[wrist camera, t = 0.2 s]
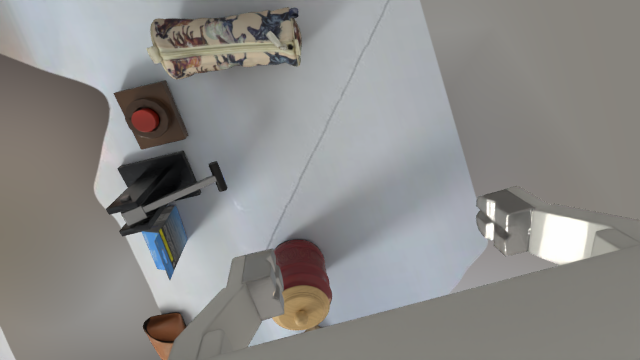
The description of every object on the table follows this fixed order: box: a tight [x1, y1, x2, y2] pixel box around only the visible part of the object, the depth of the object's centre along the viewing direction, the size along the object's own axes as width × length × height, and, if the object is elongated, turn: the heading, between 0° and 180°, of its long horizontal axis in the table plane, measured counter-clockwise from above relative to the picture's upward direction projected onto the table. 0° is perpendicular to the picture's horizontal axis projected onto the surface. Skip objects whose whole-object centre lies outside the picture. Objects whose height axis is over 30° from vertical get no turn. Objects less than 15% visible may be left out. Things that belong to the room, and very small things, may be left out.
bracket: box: [106, 151, 201, 236], centre depth 52 cm, size 12×9×15 cm
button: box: [131, 108, 159, 132], centre depth 50 cm, size 4×4×2 cm
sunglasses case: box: [143, 313, 186, 360], centre depth 75 cm, size 18×7×7 cm
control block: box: [114, 81, 188, 149], centre depth 52 cm, size 10×8×4 cm
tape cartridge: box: [142, 205, 187, 280], centre depth 58 cm, size 9×4×12 cm, turn 6°
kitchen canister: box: [273, 240, 332, 330], centre depth 63 cm, size 13×13×18 cm
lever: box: [121, 161, 227, 226], centre depth 50 cm, size 16×5×2 cm, turn 100°
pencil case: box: [146, 7, 302, 80], centre depth 47 cm, size 22×8×10 cm, turn 95°
